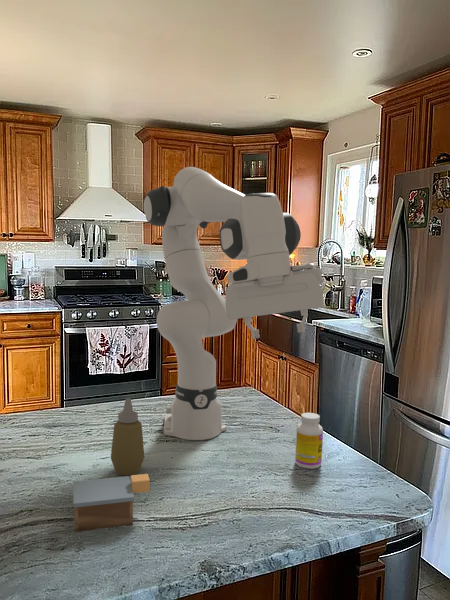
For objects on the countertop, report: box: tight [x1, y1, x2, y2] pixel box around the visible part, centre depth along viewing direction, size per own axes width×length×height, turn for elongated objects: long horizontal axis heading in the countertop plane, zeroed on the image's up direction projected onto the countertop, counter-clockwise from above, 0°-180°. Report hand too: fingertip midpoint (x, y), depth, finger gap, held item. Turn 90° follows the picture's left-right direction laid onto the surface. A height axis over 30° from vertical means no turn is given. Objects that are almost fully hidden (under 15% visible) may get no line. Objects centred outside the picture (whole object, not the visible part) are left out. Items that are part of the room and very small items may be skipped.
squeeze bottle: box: [110, 397, 145, 476], centre depth 126 cm, size 8×8×18 cm
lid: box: [72, 473, 151, 509], centre depth 106 cm, size 9×15×3 cm, turn 106°
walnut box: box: [73, 501, 134, 533], centre depth 106 cm, size 9×11×5 cm
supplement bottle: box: [294, 412, 324, 470], centre depth 133 cm, size 7×7×13 cm
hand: (278, 335), depth 109 cm, fingers open, 8 cm apart
